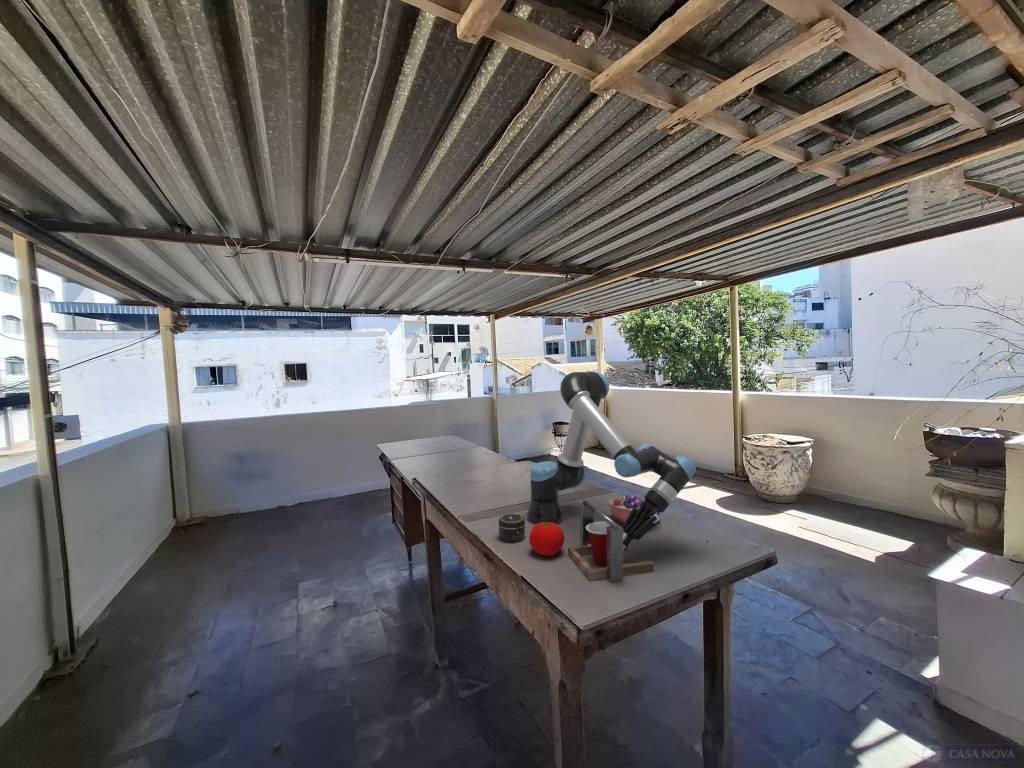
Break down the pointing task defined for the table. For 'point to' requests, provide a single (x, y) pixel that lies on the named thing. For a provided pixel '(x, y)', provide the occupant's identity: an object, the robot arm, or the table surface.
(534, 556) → the table surface
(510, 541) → the jar
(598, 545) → the plastic cup
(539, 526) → the tomato
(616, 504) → the cell model
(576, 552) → the grey and wooden frame
